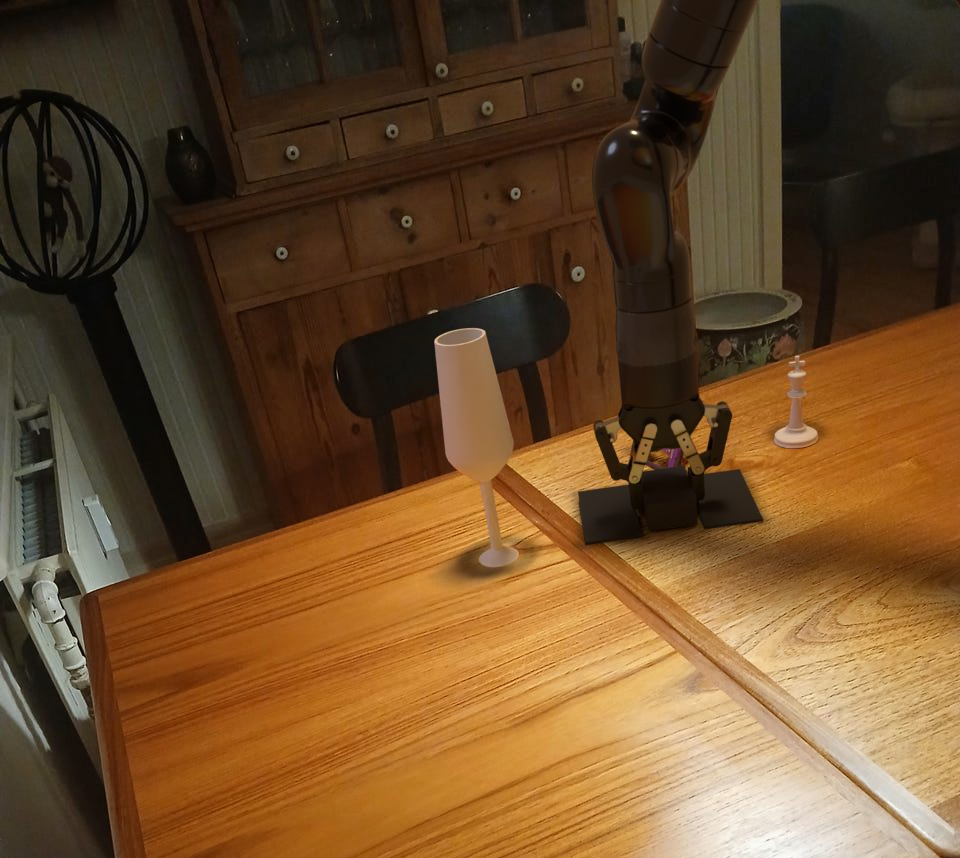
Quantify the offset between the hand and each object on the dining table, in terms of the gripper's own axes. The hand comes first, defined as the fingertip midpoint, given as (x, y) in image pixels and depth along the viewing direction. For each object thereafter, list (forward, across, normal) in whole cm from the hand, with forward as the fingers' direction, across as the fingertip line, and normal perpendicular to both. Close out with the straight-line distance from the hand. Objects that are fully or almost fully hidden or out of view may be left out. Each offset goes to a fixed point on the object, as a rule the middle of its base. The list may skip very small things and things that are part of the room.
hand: (667, 506), depth 103 cm
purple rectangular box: (+2, -2, -14) cm, 15 cm away
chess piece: (+2, -17, -16) cm, 23 cm away
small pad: (0, 0, 0) cm, 0 cm away
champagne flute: (+2, +18, +4) cm, 19 cm away
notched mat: (+2, 0, -2) cm, 2 cm away
